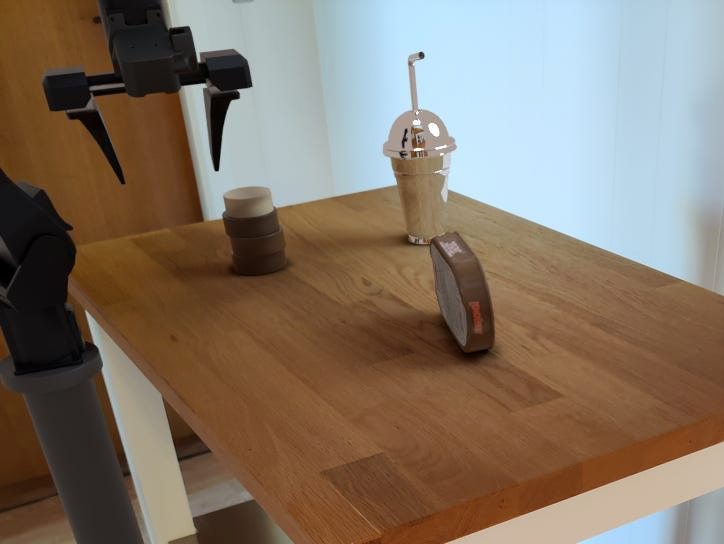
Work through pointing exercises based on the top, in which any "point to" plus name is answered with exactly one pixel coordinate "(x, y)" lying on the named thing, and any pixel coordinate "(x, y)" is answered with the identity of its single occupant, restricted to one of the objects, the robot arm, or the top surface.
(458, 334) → the tin
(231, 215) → the birch chip
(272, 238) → the chip pile
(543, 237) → the top surface
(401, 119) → the cup with straw
